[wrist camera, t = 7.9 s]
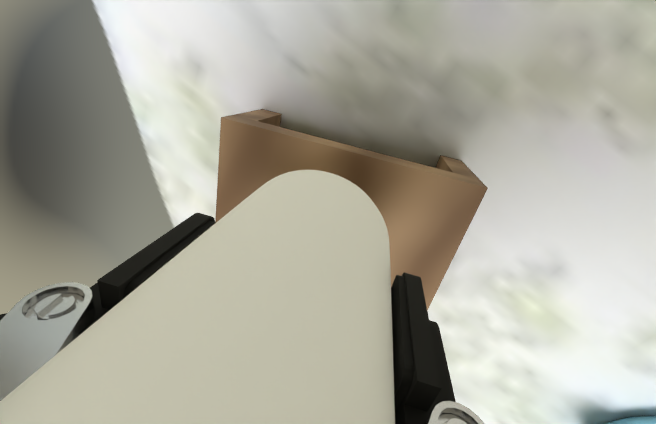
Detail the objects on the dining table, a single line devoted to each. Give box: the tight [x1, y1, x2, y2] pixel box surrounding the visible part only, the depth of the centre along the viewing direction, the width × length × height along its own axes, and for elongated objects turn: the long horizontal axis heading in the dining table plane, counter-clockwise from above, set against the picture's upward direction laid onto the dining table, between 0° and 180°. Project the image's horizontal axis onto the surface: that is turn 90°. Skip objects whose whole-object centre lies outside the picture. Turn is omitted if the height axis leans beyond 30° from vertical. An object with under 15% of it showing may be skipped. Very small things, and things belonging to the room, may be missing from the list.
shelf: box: [216, 109, 487, 310], centre depth 21 cm, size 15×17×8 cm
